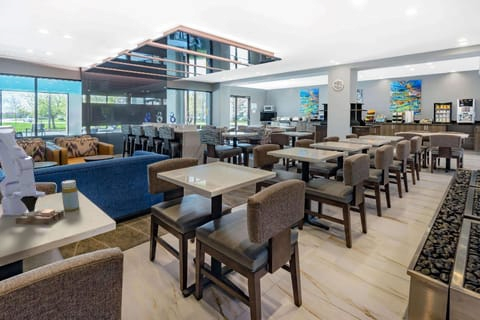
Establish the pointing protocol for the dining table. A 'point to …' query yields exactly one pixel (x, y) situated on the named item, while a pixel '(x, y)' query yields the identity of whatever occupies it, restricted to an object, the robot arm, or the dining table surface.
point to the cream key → (31, 213)
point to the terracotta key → (47, 212)
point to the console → (40, 218)
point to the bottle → (70, 195)
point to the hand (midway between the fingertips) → (31, 211)
